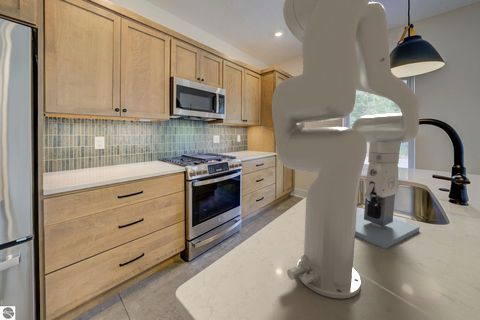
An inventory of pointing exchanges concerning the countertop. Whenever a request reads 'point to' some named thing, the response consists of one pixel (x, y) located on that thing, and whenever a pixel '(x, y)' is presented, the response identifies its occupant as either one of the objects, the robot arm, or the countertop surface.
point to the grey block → (382, 210)
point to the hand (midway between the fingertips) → (378, 214)
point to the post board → (384, 232)
